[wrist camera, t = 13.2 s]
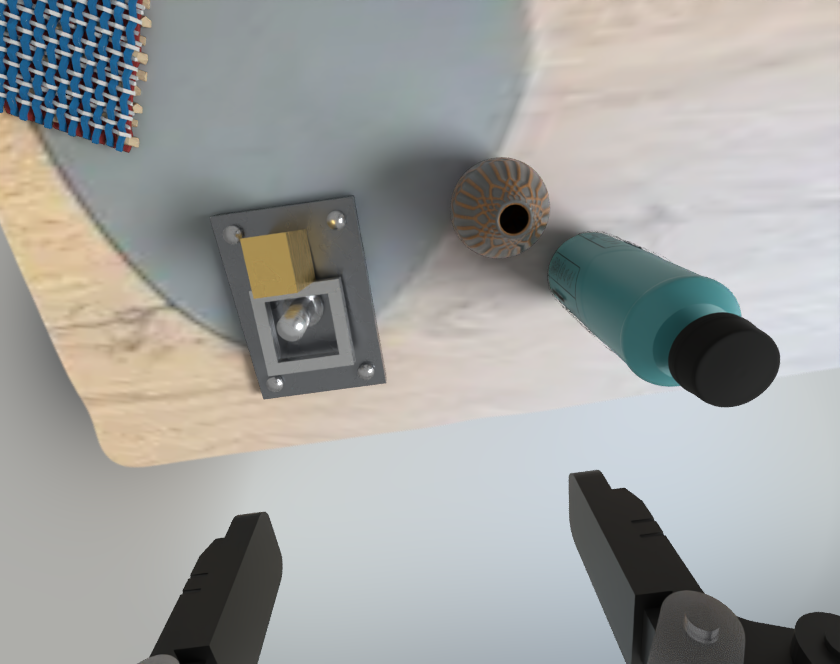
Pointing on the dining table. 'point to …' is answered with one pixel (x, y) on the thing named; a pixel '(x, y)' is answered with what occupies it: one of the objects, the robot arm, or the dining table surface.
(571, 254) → the beverage bottle
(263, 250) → the end link
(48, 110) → the woven mat
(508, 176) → the vase
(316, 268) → the toggle switch
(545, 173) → the dining table surface
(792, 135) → the dining table surface
